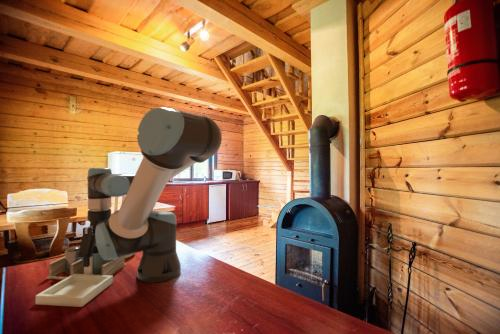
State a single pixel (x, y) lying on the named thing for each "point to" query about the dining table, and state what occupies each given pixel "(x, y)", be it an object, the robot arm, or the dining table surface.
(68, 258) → the canister
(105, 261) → the flower pot
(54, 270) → the holder
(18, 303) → the dining table surface
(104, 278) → the tray
